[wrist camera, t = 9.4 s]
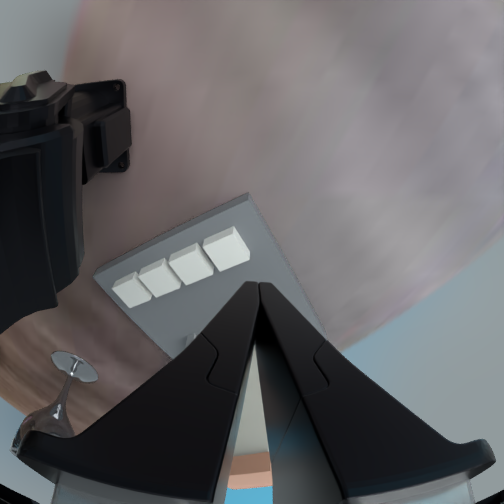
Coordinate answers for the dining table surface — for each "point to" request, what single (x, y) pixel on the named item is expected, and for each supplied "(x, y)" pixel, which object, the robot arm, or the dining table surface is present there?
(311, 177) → the dining table surface
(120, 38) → the dining table surface
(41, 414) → the wine glass
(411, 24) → the dining table surface
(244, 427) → the key
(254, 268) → the keyboard deck
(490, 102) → the dining table surface
